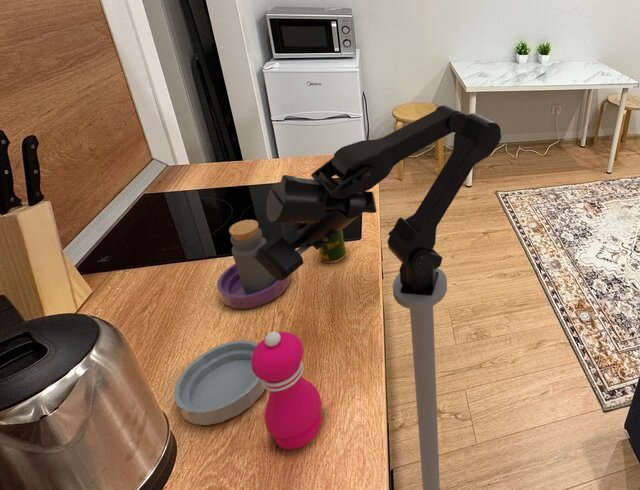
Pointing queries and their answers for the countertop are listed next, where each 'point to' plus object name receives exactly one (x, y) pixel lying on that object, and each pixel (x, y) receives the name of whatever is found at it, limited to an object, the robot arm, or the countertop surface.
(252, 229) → the bottle
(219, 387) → the bowl
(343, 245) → the beer can
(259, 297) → the bowl
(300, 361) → the pepper mill
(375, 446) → the countertop surface
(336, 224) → the robot arm
